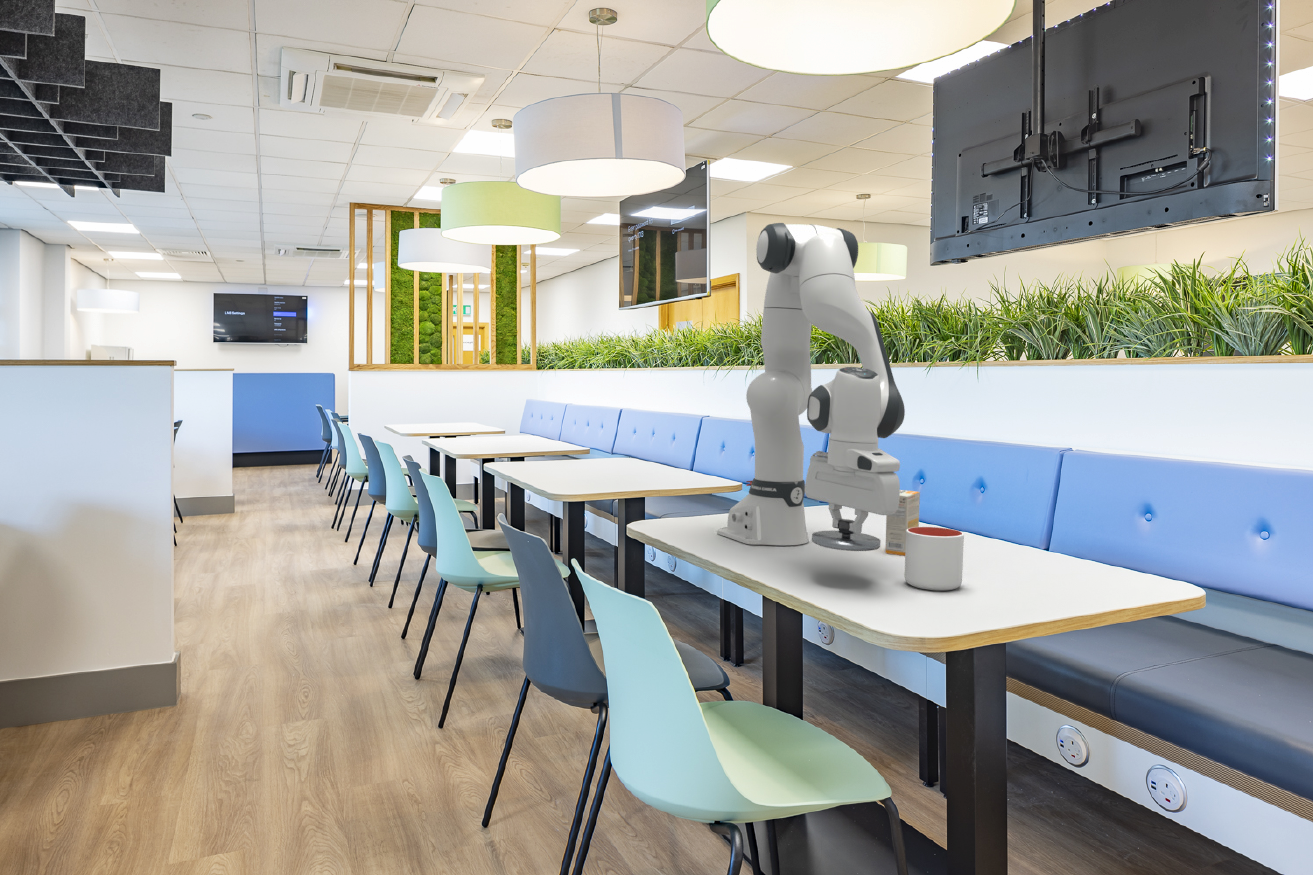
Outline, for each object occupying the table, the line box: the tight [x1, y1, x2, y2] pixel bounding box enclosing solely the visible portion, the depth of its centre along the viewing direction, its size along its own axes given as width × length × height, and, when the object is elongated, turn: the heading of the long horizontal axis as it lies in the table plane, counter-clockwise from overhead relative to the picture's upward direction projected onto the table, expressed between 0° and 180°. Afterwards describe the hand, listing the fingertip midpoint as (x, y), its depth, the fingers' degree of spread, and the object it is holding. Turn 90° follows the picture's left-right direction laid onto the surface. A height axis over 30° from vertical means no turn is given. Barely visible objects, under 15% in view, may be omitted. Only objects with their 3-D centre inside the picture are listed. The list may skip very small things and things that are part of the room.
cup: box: [904, 526, 965, 592], centre depth 153 cm, size 10×10×10 cm
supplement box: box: [885, 489, 921, 557], centre depth 183 cm, size 8×5×13 cm, turn 144°
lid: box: [811, 518, 881, 552], centre depth 155 cm, size 12×12×4 cm
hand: (846, 530), depth 155 cm, fingers closed on lid, 3 cm apart
